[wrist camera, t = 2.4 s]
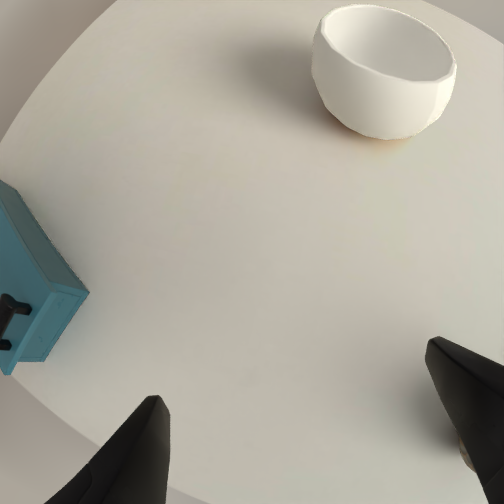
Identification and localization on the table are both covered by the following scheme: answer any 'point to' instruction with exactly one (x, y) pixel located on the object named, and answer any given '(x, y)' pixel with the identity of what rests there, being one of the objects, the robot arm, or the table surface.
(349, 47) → the cup
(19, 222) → the teal rectangular box
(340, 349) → the table surface
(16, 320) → the lid
